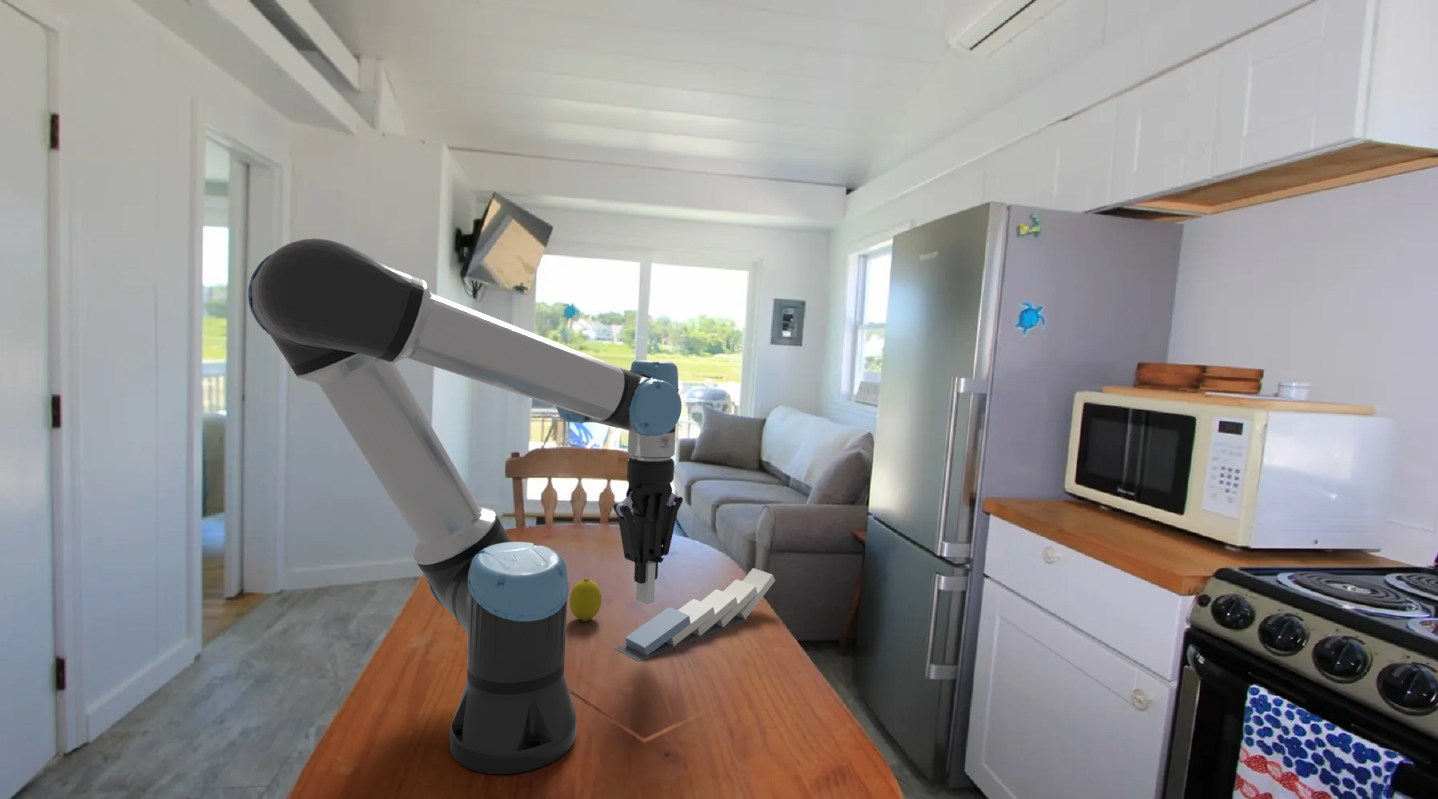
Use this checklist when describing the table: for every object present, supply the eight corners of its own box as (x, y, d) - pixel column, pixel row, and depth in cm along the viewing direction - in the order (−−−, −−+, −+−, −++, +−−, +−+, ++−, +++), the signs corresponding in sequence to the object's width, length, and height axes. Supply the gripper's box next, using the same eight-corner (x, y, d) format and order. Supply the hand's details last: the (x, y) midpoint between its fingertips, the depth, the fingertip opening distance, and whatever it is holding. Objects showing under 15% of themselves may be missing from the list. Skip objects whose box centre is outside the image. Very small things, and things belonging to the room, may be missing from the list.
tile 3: (698, 628, 119) (736, 596, 125) (678, 619, 122) (716, 589, 129) (699, 636, 119) (737, 604, 126) (680, 627, 123) (717, 596, 129)
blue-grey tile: (644, 647, 110) (689, 615, 117) (625, 637, 114) (669, 606, 120) (646, 656, 111) (690, 623, 117) (626, 645, 114) (670, 614, 121)
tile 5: (742, 613, 127) (772, 574, 133) (722, 605, 130) (753, 568, 136) (745, 619, 128) (775, 580, 133) (725, 611, 131) (755, 573, 137)
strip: (637, 663, 109) (638, 661, 109) (614, 650, 113) (614, 648, 113) (747, 622, 128) (747, 620, 128) (724, 612, 132) (724, 610, 132)
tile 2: (672, 637, 115) (713, 606, 121) (652, 628, 118) (693, 598, 125) (673, 646, 115) (714, 614, 122) (654, 636, 118) (695, 606, 125)
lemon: (606, 622, 124) (608, 579, 124) (581, 630, 120) (582, 585, 120) (588, 613, 128) (589, 571, 127) (562, 621, 124) (564, 577, 123)
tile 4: (721, 620, 123) (755, 586, 129) (701, 612, 127) (736, 579, 133) (723, 627, 124) (757, 592, 130) (703, 619, 127) (738, 585, 133)
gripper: (634, 464, 104) (627, 617, 106) (696, 457, 113) (689, 598, 115) (603, 456, 109) (598, 603, 111) (665, 450, 118) (659, 585, 120)
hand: (644, 600), depth 113 cm, fingers closed
